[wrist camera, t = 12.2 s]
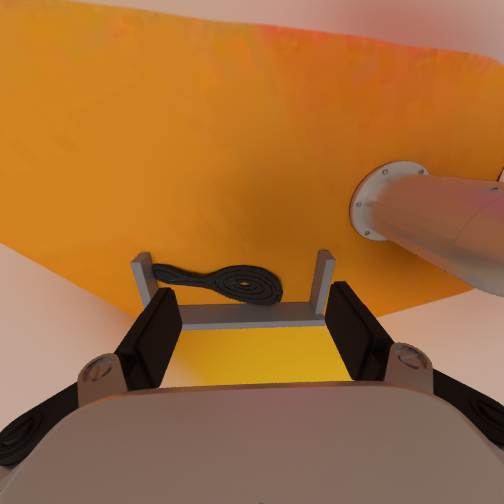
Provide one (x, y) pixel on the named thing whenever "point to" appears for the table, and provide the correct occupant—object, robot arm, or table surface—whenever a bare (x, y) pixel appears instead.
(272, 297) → the hairbrush
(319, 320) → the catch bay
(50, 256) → the table surface
